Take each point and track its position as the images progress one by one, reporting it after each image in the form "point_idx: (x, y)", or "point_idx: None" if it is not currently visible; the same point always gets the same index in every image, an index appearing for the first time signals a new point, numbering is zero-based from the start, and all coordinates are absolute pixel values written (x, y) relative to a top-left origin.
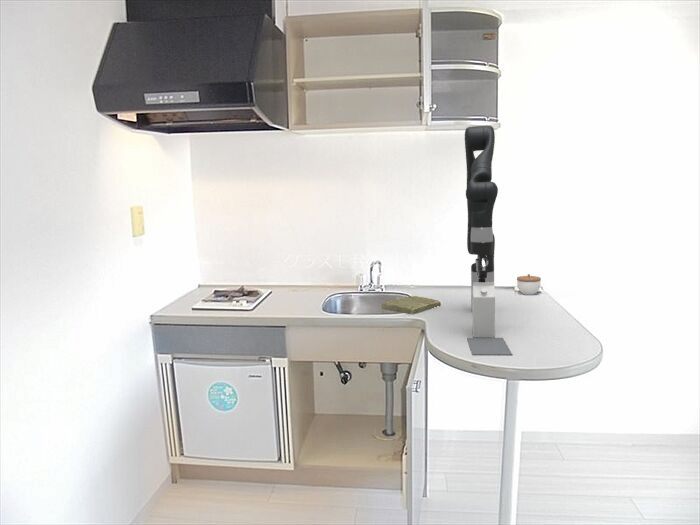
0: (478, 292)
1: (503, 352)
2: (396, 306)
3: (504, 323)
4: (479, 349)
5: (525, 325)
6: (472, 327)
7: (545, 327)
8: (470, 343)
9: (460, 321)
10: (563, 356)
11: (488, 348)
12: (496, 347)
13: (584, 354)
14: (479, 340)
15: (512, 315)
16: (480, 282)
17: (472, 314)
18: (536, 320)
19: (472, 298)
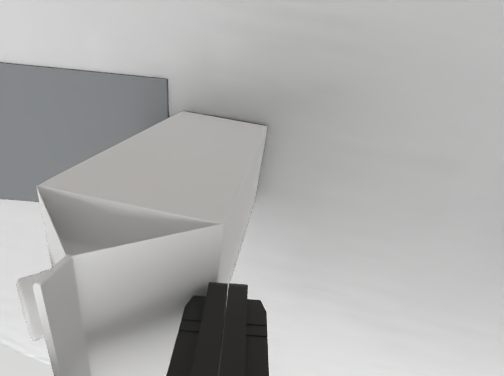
0: (53, 250)
1: None
2: None
3: (367, 259)
4: (2, 98)
5: (324, 306)
6: (252, 126)
7: (290, 342)
8: (79, 78)
9: (461, 103)
10: (11, 307)
11: (23, 135)
12: (43, 166)
13: (41, 346)
14: (127, 124)
15: (463, 303)
16: (52, 354)
17: (239, 145)
18: (373, 342)
19: (211, 185)
